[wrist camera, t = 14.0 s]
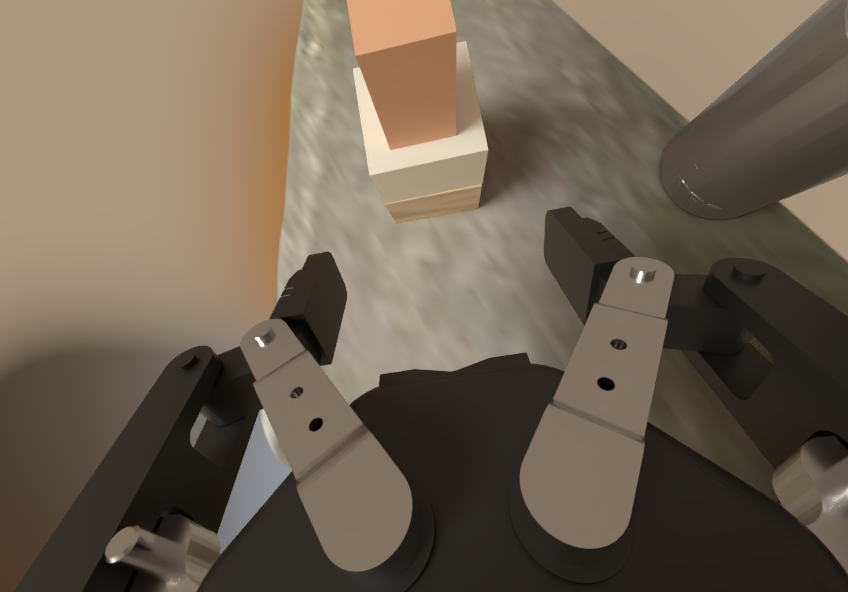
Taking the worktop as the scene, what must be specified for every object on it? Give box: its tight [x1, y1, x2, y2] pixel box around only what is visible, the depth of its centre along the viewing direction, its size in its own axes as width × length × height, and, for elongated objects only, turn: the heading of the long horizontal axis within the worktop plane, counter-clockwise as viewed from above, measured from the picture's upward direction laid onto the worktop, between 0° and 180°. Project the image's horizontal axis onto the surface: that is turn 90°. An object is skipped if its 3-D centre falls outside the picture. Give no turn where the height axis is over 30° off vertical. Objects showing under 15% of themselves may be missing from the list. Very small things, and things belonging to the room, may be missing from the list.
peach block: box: [347, 0, 456, 150], centre depth 18 cm, size 4×4×8 cm
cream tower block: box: [353, 41, 488, 204], centre depth 24 cm, size 8×8×5 cm
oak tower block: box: [385, 184, 482, 224], centre depth 29 cm, size 8×8×5 cm
